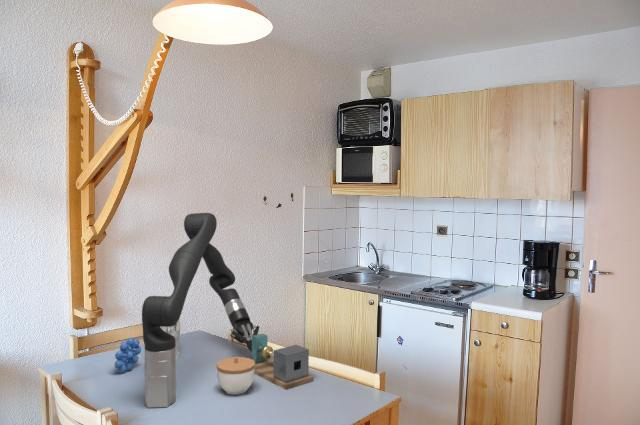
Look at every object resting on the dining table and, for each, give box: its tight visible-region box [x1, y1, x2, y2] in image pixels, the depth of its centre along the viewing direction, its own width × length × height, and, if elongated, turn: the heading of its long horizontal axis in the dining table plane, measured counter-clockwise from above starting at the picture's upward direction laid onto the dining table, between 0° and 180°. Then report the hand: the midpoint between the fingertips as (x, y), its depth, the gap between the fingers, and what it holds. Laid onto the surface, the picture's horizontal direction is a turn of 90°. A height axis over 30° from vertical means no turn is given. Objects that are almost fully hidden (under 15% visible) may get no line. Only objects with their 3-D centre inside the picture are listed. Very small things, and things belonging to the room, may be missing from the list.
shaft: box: [251, 333, 274, 363], centre depth 181 cm, size 19×5×10 cm, turn 41°
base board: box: [254, 357, 314, 390], centre depth 179 cm, size 26×12×2 cm, turn 41°
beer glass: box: [161, 318, 181, 357], centre depth 198 cm, size 7×7×15 cm
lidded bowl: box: [216, 356, 256, 396], centre depth 164 cm, size 13×13×11 cm
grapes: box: [114, 337, 142, 374], centre depth 181 cm, size 12×7×12 cm, turn 154°
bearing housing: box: [273, 344, 310, 383], centre depth 173 cm, size 7×10×10 cm
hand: (253, 350), depth 190 cm, fingers closed
